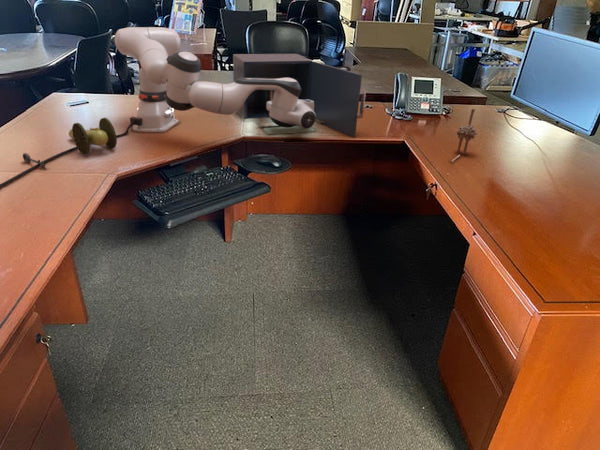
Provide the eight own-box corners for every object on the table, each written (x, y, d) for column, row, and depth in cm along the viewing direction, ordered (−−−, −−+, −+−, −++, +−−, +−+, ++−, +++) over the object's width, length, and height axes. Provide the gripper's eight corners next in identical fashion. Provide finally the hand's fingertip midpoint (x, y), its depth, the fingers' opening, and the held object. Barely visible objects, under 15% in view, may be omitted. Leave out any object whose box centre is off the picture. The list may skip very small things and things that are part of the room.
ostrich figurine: (456, 149, 186) (466, 106, 177) (472, 153, 182) (483, 109, 174) (442, 160, 173) (452, 114, 165) (459, 164, 170) (470, 118, 161)
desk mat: (315, 131, 198) (315, 130, 198) (268, 134, 191) (268, 133, 191) (301, 119, 213) (301, 119, 212) (256, 122, 205) (256, 121, 205)
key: (23, 161, 152) (20, 152, 151) (26, 161, 153) (23, 151, 151) (44, 170, 147) (42, 160, 145) (47, 169, 148) (45, 159, 146)
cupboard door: (320, 116, 219) (323, 60, 206) (364, 134, 197) (372, 73, 184) (308, 117, 216) (312, 61, 203) (353, 136, 193) (359, 74, 180)
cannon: (59, 141, 171) (52, 112, 165) (89, 135, 179) (84, 107, 173) (90, 159, 157) (84, 128, 151) (121, 152, 165) (117, 122, 159)
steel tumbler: (281, 114, 215) (281, 89, 209) (268, 115, 213) (269, 89, 207) (277, 110, 220) (277, 86, 214) (265, 111, 218) (265, 86, 212)
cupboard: (309, 117, 217) (312, 60, 204) (244, 121, 206) (243, 61, 193) (294, 106, 233) (297, 53, 220) (234, 109, 222) (232, 54, 209)
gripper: (271, 118, 186) (262, 109, 197) (316, 115, 192) (304, 107, 204) (271, 103, 183) (262, 95, 194) (317, 101, 189) (305, 93, 200)
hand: (284, 101), depth 199 cm, fingers open, 8 cm apart
